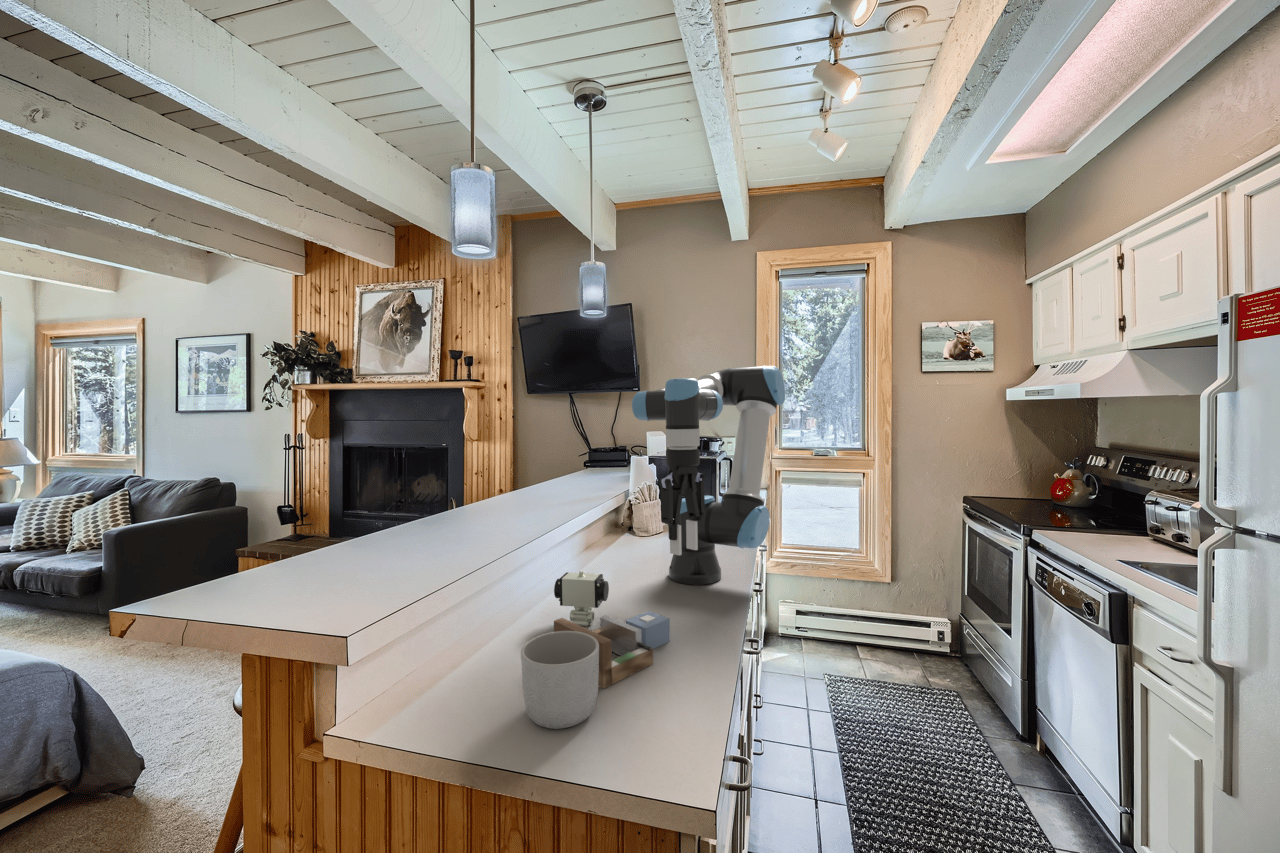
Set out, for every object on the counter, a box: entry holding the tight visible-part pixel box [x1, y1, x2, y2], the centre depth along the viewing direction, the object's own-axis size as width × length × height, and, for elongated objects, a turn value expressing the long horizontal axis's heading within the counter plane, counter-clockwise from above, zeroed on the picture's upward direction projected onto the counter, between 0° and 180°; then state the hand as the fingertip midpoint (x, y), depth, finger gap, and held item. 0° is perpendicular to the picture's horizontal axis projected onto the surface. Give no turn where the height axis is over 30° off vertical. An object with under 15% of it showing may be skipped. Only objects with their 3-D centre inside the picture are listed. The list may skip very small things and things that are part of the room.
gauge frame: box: [553, 617, 654, 689], centre depth 101 cm, size 12×15×8 cm
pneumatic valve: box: [553, 570, 610, 627], centre depth 120 cm, size 6×12×12 cm, turn 78°
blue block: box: [625, 610, 671, 650], centre depth 109 cm, size 7×6×5 cm
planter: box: [520, 631, 599, 730], centre depth 84 cm, size 12×12×11 cm
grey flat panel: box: [599, 614, 651, 657], centre depth 103 cm, size 2×13×6 cm, turn 45°
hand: (684, 551), depth 117 cm, fingers open, 5 cm apart
